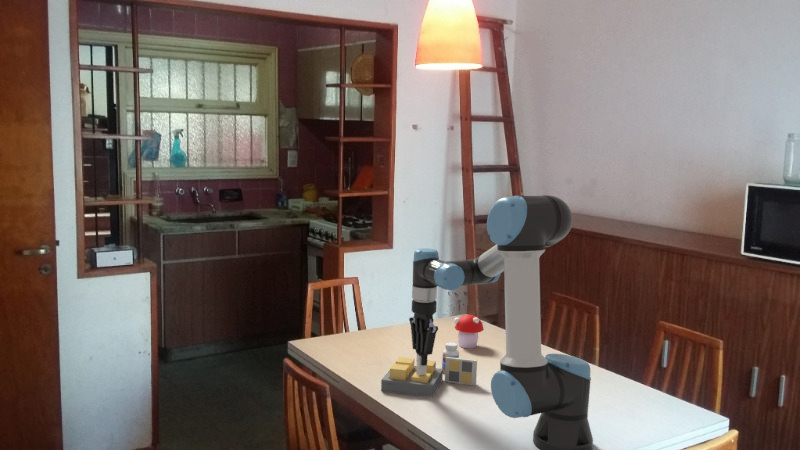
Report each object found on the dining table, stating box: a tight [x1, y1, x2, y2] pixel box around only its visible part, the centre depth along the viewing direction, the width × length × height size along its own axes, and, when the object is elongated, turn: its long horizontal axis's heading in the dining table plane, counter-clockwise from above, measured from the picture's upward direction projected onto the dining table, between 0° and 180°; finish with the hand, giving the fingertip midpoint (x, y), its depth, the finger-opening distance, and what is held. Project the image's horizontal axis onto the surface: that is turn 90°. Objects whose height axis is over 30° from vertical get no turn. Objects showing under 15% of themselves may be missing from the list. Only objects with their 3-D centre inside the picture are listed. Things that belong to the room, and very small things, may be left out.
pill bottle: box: [441, 342, 460, 375], centre depth 239 cm, size 5×5×10 cm
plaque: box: [444, 357, 478, 386], centre depth 229 cm, size 1×10×8 cm, turn 76°
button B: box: [389, 363, 409, 381], centre depth 223 cm, size 5×5×4 cm
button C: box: [426, 359, 437, 376], centre depth 228 cm, size 5×5×4 cm
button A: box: [412, 372, 431, 383], centre depth 221 cm, size 5×5×4 cm
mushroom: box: [453, 314, 485, 349], centre depth 269 cm, size 11×11×12 cm
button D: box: [395, 356, 416, 373], centre depth 230 cm, size 5×5×4 cm
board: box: [380, 365, 444, 398], centre depth 226 cm, size 16×16×4 cm
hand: (421, 374), depth 221 cm, fingers closed
